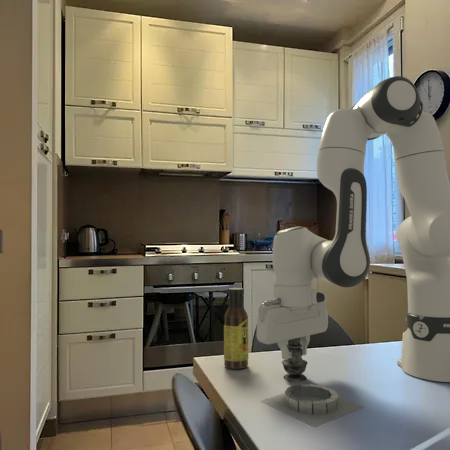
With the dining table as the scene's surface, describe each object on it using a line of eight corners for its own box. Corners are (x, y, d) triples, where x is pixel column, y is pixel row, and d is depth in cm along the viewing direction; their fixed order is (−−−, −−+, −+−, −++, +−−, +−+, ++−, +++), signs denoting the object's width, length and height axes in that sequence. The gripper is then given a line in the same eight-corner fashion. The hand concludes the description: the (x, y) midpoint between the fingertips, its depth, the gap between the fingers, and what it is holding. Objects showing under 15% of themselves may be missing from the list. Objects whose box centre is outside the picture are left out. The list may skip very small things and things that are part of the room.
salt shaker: (308, 383, 90) (306, 328, 91) (281, 381, 91) (279, 327, 92) (308, 374, 96) (306, 323, 96) (282, 373, 97) (281, 322, 98)
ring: (309, 390, 85) (309, 381, 86) (348, 405, 77) (348, 395, 78) (274, 401, 80) (274, 391, 80) (313, 419, 72) (313, 408, 72)
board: (309, 388, 88) (309, 385, 88) (364, 409, 77) (364, 406, 77) (260, 404, 80) (260, 400, 80) (314, 430, 69) (314, 426, 69)
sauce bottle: (247, 370, 101) (247, 290, 102) (222, 370, 101) (222, 289, 102) (249, 363, 107) (248, 287, 108) (225, 362, 108) (224, 287, 109)
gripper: (268, 303, 86) (270, 369, 85) (331, 293, 98) (333, 351, 97) (249, 300, 91) (251, 362, 90) (311, 291, 103) (313, 346, 102)
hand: (294, 357), depth 94 cm, fingers closed on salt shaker, 3 cm apart
